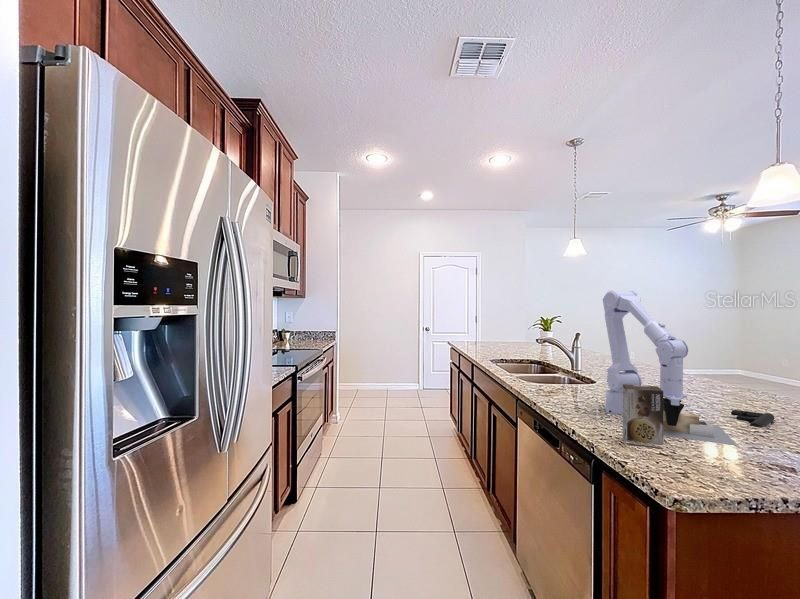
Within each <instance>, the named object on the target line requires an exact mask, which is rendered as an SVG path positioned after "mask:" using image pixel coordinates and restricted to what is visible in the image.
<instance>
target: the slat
mask: <svg viewBox="0 0 800 599" xmlns="http://www.w3.org/2000/svg"><path fill="white" fill-rule="evenodd" d="M699 420H700V416H699V415H698V414H695V413H686V412H680V414H679V418H678V422H677V425H676V426H671V425H668V424H667V420H666V414H665V411H663V429H664V430H672V431H679V432H687V433H689V423H692V424H699Z"/></svg>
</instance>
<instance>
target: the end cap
mask: <svg viewBox="0 0 800 599" xmlns="http://www.w3.org/2000/svg"><path fill="white" fill-rule="evenodd" d="M712 425H713V424H712ZM712 425H711V422H710V421H709V420H701V419H699V424H692V423H689V434H690V435H698V436H705V437H713V438H714V427H713V426H712Z"/></svg>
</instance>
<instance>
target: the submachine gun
mask: <svg viewBox="0 0 800 599" xmlns="http://www.w3.org/2000/svg"><path fill="white" fill-rule="evenodd" d="M730 415H731V416H728V415H723V416H722V417H724V418H729V419H734V420H737V421H743V422H747V423H749V426H750V427H753V428H759V429H760V428H761V429H762V428H764V429H767V428H769V427H770V426H771V425H772V422H774V421H775V422H777V420H775V419H776V417H775V416H774V414H772V413H770V412H765V413H763V412H762V413H761V412H755V411H747V410H739V409H732V410H731V412H730Z"/></svg>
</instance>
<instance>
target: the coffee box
mask: <svg viewBox="0 0 800 599" xmlns="http://www.w3.org/2000/svg"><path fill="white" fill-rule="evenodd" d="M663 398H664V397H663V391H662V390H661V389H660V386H657V385H643V384H641V385H628V384H623V415H622V440H623V441H624V443H625V445H626V446H630V445H631V446H632V447H641V448H650V449H660V450H664V447H657V446H651V445H645V444H637V443H633V442H641V443H648V444H649V443H650V444H660V445H664V444H665V443H664V441H665V440H664V433H663ZM628 441H632V443H631V442H628Z"/></svg>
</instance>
